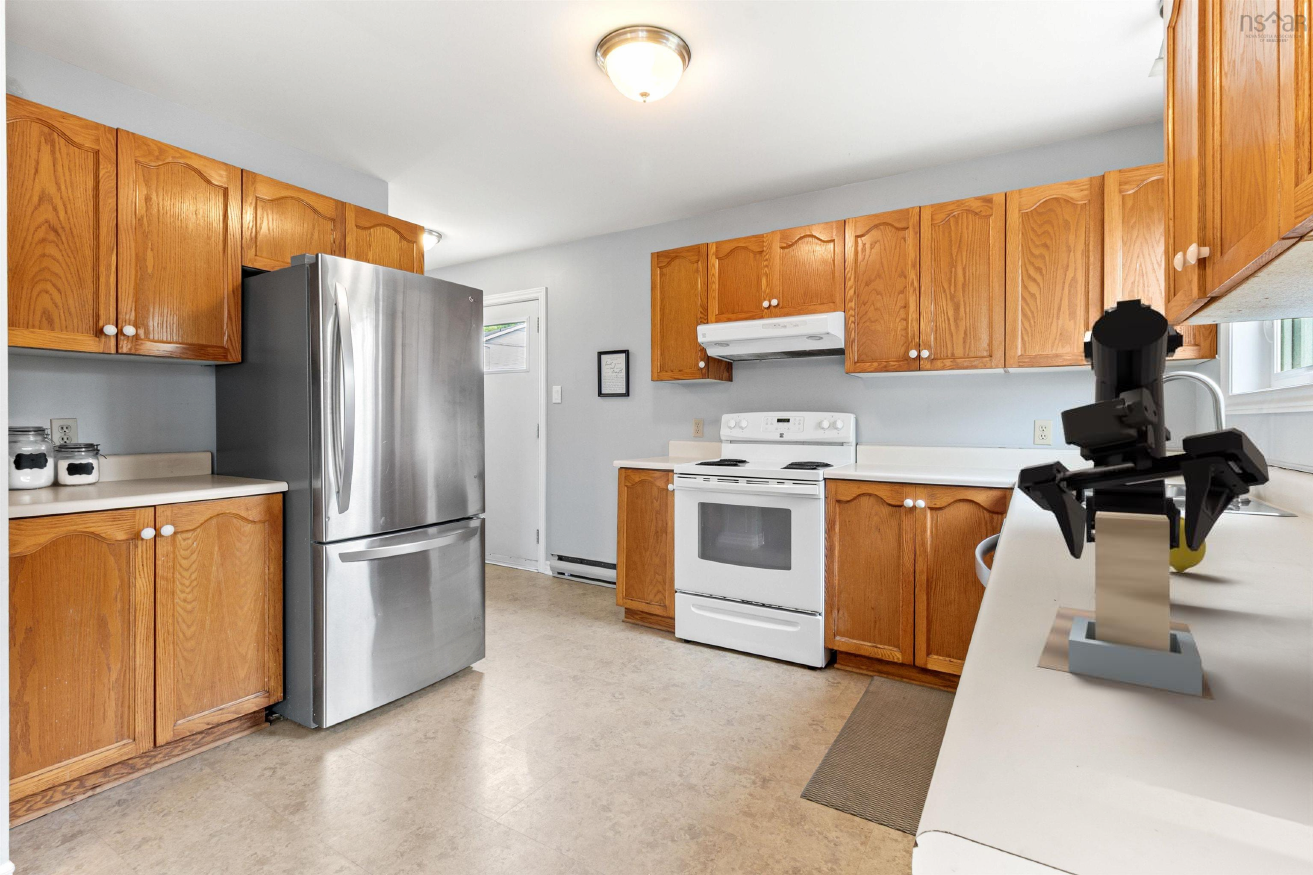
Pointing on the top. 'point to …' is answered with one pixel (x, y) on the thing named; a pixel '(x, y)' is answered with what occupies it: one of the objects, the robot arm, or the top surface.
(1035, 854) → the top surface
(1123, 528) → the beech pillar
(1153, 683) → the slate socket block
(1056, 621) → the tan flat plate
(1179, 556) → the lemon
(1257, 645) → the top surface
